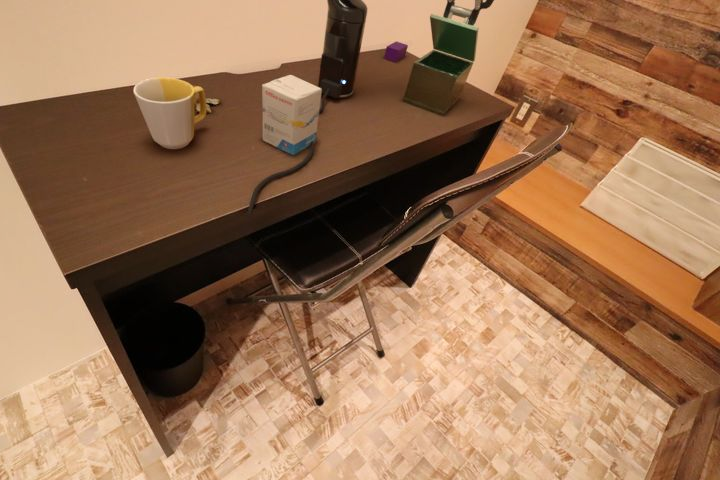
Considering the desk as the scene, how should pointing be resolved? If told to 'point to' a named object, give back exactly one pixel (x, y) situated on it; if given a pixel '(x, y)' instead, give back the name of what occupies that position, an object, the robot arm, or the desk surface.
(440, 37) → the lid
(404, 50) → the chocolate
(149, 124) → the mug
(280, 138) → the ink box
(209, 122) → the desk surface
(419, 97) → the bin
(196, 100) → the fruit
